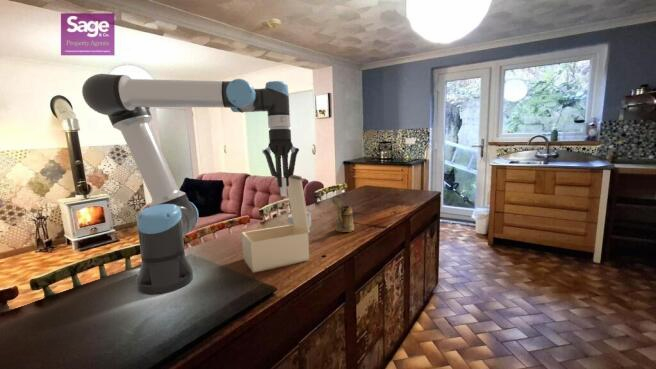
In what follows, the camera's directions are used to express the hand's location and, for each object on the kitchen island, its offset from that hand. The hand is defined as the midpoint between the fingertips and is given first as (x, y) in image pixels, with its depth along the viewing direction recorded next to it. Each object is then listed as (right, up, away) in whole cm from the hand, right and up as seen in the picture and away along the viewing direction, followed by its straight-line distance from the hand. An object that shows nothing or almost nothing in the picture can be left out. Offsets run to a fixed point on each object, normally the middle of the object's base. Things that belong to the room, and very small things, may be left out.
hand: (283, 195), depth 110 cm
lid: (+4, -2, +3) cm, 5 cm away
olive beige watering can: (+23, -18, +34) cm, 44 cm away
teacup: (+3, -18, +38) cm, 42 cm away
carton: (-3, -23, +1) cm, 23 cm away
